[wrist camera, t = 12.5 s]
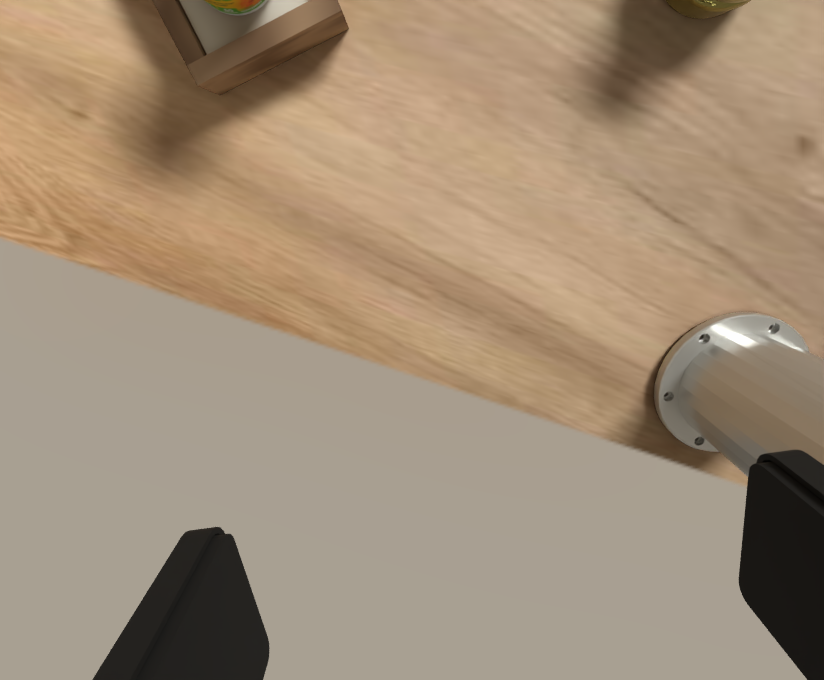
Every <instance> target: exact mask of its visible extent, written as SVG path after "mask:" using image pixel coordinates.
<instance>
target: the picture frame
mask: <svg viewBox="0 0 824 680" xmlns="http://www.w3.org/2000/svg"><path fill="white" fill-rule="evenodd" d="M153 2H154V4H155V6H156V8H157V10H158V12H159V14H160V15H161V17H162V19H163V21H164V23H165V25H166V27H167V29H168V31H169V33H170V34H171V36H172V38H173V40H174V42H175V44H176V46H177V48H178V50H179V52H180V53H181V55H182V57H183V59H184V61H185V63H186V65H187V67H188V69H189V71H190V72H191V74H192V76H193V78H194V80H195V82H196V84H197V86H200V87H202V88H204V89H207V90H209V91H211V92H214V93H216V94H218V95H221V94H223V93H225V92H227V91H229V90H231V89H233V88H235V87H237V86H239V85H241V84H243V83H244V82H246V81H248V80H250V79H252V78H254V77H256V76H258V75H260V74H262V73H264V72H266V71H268V70H270V69H272V68H274V67H275V66H277V65H279V64H281V63H283V62H285V61H287V60H289V59H291V58H293V57H295V56H297V55H299V54H301V53H303V52H305V51H307V50H308V49H310V48H312V47H314V46H316V45H318V44H320V43H322V42H324V41H326V40H328V39H330V38H332V37H334V36H336V35H338V34H339V33H341V32H343V31H345V30H347V29H349V28H348V25H347V23H346V20H345V17H344V15H343V12H342V10H341V7H340V5H339V3H338V0H268V1H267V2H266V3H265V4H264V5H263V6H262V7H261V8H259V9H258V10H256V11H255V12H252V13H250V14H247V15H238V16H236V15H229V14H225V13H222V12H220V11H218V10H216V9H214V8H213V7H211V6H210V5H209V4H207V3H206V2H205V1H204V0H153Z"/></svg>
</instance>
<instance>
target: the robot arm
mask: <svg viewBox="0 0 824 680" xmlns="http://www.w3.org/2000/svg"><path fill="white" fill-rule="evenodd" d="M654 400H655V407H656V410H657V413H658V415H659V418H660V420H661V421H662V423H663V424H664V426H665V427H666V428H667V429H668V430H669V431H670V432H671V433H672V434H673V435H674V436H675V437H676V438H677V439H679V440H680V441H681V442H683V443H684V444H686V445H688V446H690V447H693V448H695V449H699V450H704V451H709V452H721V453H722V454H723V455H724V456H725V457H726V458H727V459H728V460H730V461H731V462H732V463H733V464H734V465H735V466H736V467H737V468H739V469H740V470H741V471H742V472H743V473H744V474H745V475H746V476H748V486H747V496H746V507H745V518H744V528H743V540H742V550H741V561H740V572H739V586H740V590H741V593H742V595H743V597H744V599H745V601H746V602H747V604H748V605H749V606H750V608H751V609H752V610H753V612H754V613H755V614H756V615H757V617H758V618H759V619H760V620H761V622H762V623H763V624H764V625H765V627H766V628H767V629H768V631H769V632H770V633H771V634H772V636H773V637H774V638H775V639H776V641H777V642H778V643H779V644H780V646H781V647H782V648H783V649H784V651H785V652H786V653H787V654H788V656H789V657H790V658H791V659H792V661H793V662H794V663H795V664H796V666H797V667H798V668H799V670H800V671H801V672H802V673H803V675H804V676H805V677H806V678H807V680H824V359H823V358H821V357H819V356H816V355H814V354H812V353H809V349H808V346H807V345H806V343H805V341H804V339H803V337H802V336H801V335H800V334H799V333H798V332H797V331H796V330H795V329H794V328H793V327H792V326H790V325H788V324H787V323H785V322H784V321H782V320H779V319H777V318H774V317H772V316H769V315H765V314H761V313H757V312H735V313H728V314H724V315H721V316H718V317H715V318H712V319H709V320H707V321H706V322H704V323H702V324H700V325H698V326H696V327H695V328H693V329H692V330H691V331H689V332H688V333H686V334H685V335H684V336H683V337H682V338H681V339H680V340H679V341H678V342H677V343H676V344H675V345H674V346H673V347H672V349H671V350H670V351H669V353H668V354H667V355H666V357H665V358H664V360H663V362H662V364H661V366H660V369H659V371H658V374H657V378H656V381H655V388H654ZM268 659H269V641H268V637H267V634H266V631H265V628H264V625H263V622H262V619H261V616H260V614H259V611H258V607H257V605H256V602H255V599H254V596H253V593H252V590H251V587H250V584H249V581H248V578H247V575H246V572H245V569H244V566H243V564H242V561H241V558H240V555H239V552H238V549H237V546H236V543H235V541H234V538H233V536H232V535H231V534H225V533H224V531H223V530H222V529H221V528H220V527H214V528H207V529H198V530H191V531H187V532H185V533H184V534H183V536H182V537H181V538H180V540H179V542H178V543H177V545H176V546H175V548H174V550H173V551H172V553H171V554H170V556H169V558H168V559H167V561H166V563H165V564H164V566H163V567H162V569H161V571H160V572H159V574H158V575H157V577H156V579H155V580H154V582H153V583H152V585H151V587H150V588H149V590H148V591H147V593H146V595H145V596H144V598H143V600H142V601H141V603H140V604H139V606H138V608H137V609H136V611H135V612H134V614H133V616H132V617H131V619H130V620H129V622H128V624H127V625H126V627H125V628H124V630H123V632H122V633H121V635H120V636H119V638H118V640H117V641H116V643H115V644H114V646H113V648H112V649H111V651H110V653H109V654H108V656H107V657H106V659H105V660H104V662H103V664H102V665H101V667H100V669H99V670H98V672H97V673H96V675H95V677H94V678H93V680H263V677H264V674H265V670H266V667H267V663H268Z"/></svg>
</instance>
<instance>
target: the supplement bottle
mask: <svg viewBox="0 0 824 680" xmlns="http://www.w3.org/2000/svg"><path fill="white" fill-rule="evenodd" d="M204 1H205V2H206V3H207V4H209V5H210V6H211V7H213V8H214V9H216V10H218V11H220V12H222V13H225V14H229V15H236V16H238V15H247V14H250V13H252V12H255V11H256V10H258V9H259V8H261V7H262V6H263V5H264V4H265V3H266V2H267V1H268V0H204Z"/></svg>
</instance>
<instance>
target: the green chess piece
mask: <svg viewBox="0 0 824 680" xmlns="http://www.w3.org/2000/svg"><path fill="white" fill-rule="evenodd" d="M666 1H667V3H668V4H669V5H670V6H671V7H672V8H673V9H674V10H676V11H677V12H679V13H681V14H682V15H685V16H687V17H691V18H697V19H706V18H712V17H716V16H719V15H721V14H724V13H726V12H728V11H730V10H732V9H735V8H738V7H740V6H742V5H744V4H746V3H748V2H749V1H751V0H666Z"/></svg>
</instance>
